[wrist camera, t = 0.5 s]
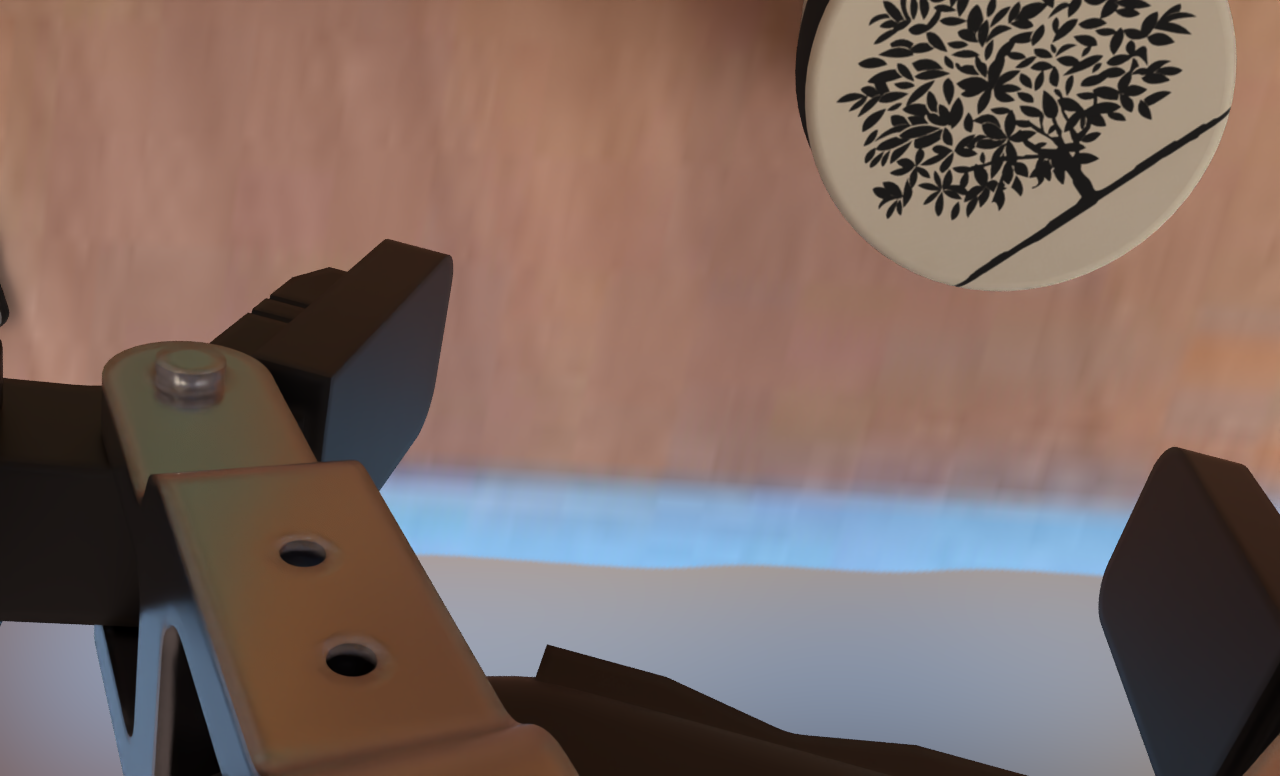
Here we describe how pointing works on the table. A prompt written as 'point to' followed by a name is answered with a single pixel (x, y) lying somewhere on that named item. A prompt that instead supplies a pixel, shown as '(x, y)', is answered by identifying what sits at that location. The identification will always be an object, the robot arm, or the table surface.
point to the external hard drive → (3, 308)
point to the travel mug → (1012, 126)
